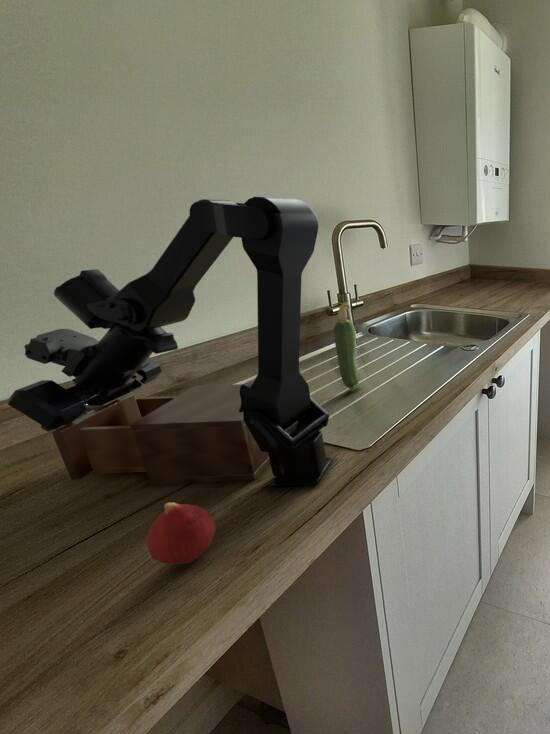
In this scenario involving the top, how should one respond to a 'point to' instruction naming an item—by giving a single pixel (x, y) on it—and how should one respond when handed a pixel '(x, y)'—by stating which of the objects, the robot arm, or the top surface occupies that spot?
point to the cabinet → (199, 439)
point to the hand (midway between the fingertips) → (66, 419)
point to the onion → (180, 534)
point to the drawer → (105, 437)
